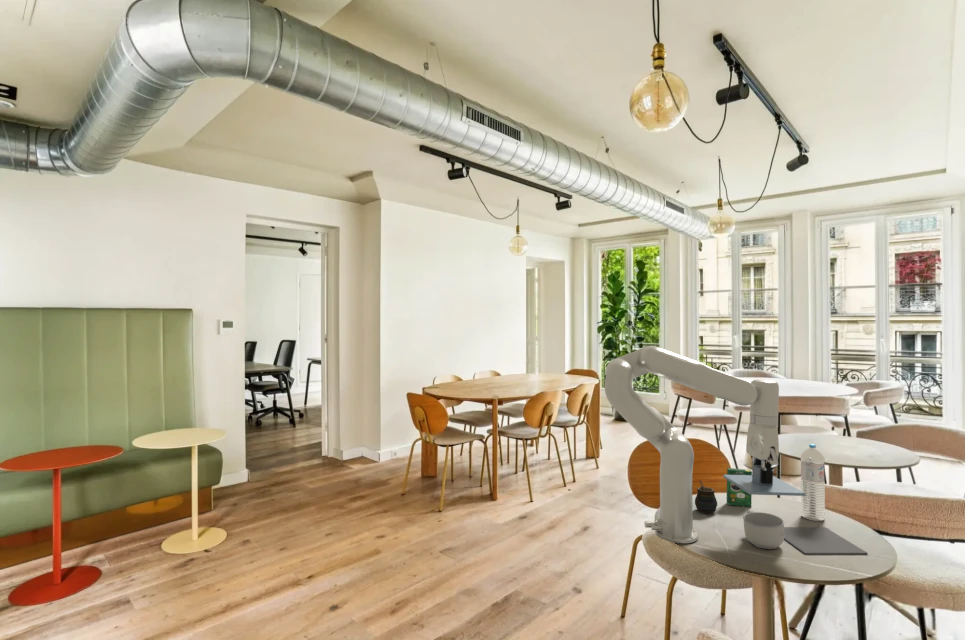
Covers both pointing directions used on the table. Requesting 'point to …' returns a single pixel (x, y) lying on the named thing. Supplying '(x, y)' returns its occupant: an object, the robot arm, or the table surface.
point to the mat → (820, 541)
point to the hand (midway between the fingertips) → (762, 480)
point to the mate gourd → (705, 500)
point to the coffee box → (737, 490)
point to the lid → (755, 486)
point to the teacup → (764, 529)
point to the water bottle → (812, 484)
